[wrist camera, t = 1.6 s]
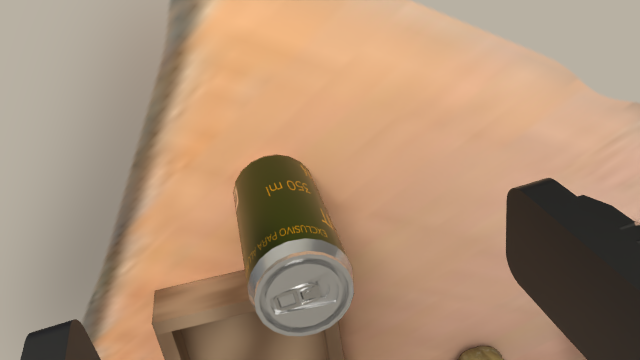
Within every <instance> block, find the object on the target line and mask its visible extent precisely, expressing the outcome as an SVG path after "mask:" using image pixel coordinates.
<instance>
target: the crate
mask: <svg viewBox="0 0 640 360" xmlns="http://www.w3.org/2000/svg"><path fill="white" fill-rule="evenodd" d="M152 325H153V328H154V331H155V334H156V336H157V339H158V342H159V345H160V348H161V350H162V353H163V356H164V359H165V360H344V356H343V350H342V343H341V337H340V331H339V324H338V321H337V322H336V323H335V324H333V325H332V326H331V327H329V328H327V329H325V330H323V331H321V332H319V333H316V334H311V335H306V336H286V335H283V334H280V333H277V332H274V331H273V330H271V329H270V328H269V327H267V326H266V325H265V324H263V323H262V321H261V319H260V318H259V316H258V314H257V313H256V310H255V309H254V307H253V305H252V304H251V302H250V300H249V294H248V287H247V281H246V274H245V270H242V271H238V272H234V273H229V274H225V275H221V276H216V277H212V278H208V279H204V280H199V281H195V282H191V283H186V284H182V285H178V286H174V287H169V288H165V289H161V290H156V291H155V295H154V306H153V317H152Z"/></svg>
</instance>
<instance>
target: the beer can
mask: <svg viewBox="0 0 640 360" xmlns="http://www.w3.org/2000/svg"><path fill="white" fill-rule="evenodd" d="M233 194H234V201H235V207H236V214H237V221H238V227H239V234H240V241H241V247H242V254H243V261H244V267H245V274H246V281H247V287H248V294H249V300H250V302H251V304H252V305H253V307H254V309H255V310H256V313H257V314H258V316H259V318H260V319H261V321H262V323H263V324H265V325H266V326H267V327H269V328H270V329H271V330H273V331H274V332H277V333H280V334H283V335H286V336H306V335H311V334H316V333H319V332H321V331H323V330H325V329H327V328H329V327H331V326H332V325H333V324H335V323H336V322H337V321H338V320H340V319H341V318H342V317H343V315H344V314H345V312H346V311H347V310H348V308H349V307H350V304H351V301H352V298H353V294H354V290H353V272H352V266H351V264H350V262H349V260H348V257H347V255H346V253H345V251H344V248H343V246H342V244H341V242H340V239H339V237H338V235H337V233H336V230H335V228H334V226H333V224H332V221H331V219H330V217H329V215H328V212H327V210H326V208H325V206H324V203H323V201H322V199H321V197H320V194H319V192H318V190H317V187H316V185H315V183H314V181H313V179H312V176H311V174H310V172H309V170H308V169H307V168H306V167H305V166H304V165H303V164H302V163H301V162H299V161H297V160H295V159H293V158H291V157H288V156H281V155H270V156H263V157H261V158H259V159H257V160H255V161H253V162H251V163H250V164H249V165H248V166H247V167H246V168H245V169H243V170H242V172H241V173H240V175H239V177H238V178H237V180H236V182H235V187H234V192H233Z"/></svg>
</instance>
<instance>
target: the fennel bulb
mask: <svg viewBox="0 0 640 360" xmlns="http://www.w3.org/2000/svg"><path fill="white" fill-rule="evenodd" d="M458 360H504V359H503V358H502V355H501V354H500V352H499V351H497V350H496V349H495V348H492V347H489V346H478V347H476V348H472V349H469V350H467V351H465V352H464V353H462V354H461V356H460V357H459V359H458Z"/></svg>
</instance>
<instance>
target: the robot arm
mask: <svg viewBox="0 0 640 360" xmlns="http://www.w3.org/2000/svg"><path fill="white" fill-rule="evenodd" d="M506 257H507V262H508V265H509V268H510V270H511V273H512V275H513V276H514V278H515V280H516V281H517V283H518V284H519V285H520V286H521V287H522V288H523V289H524V290H525V292H526V293H527V294H528V295H529V296H530V297H531V298H532V299H533V300H534V301H535V303H536V304H537V305H538V306H539V307H540V308H541V309H542V310H543V311H544V313H545V314H546V315H547V316H548V317H549V318H550V319H551V320H552V321H553V322H554V324H555V325H556V326H557V327H558V328H559V329H560V330H561V331H562V332H563V333H564V335H565V336H566V337H567V338H568V339H569V340H570V341H571V342H572V343H573V344H574V346H575V347H576V348H577V349H578V350H579V351H580V352H581V353H582V354H583V355H584V357H585V358H586V359H587V360H640V223H638V222H634V221H633V220H631V219H630V218H629V217H627V216H626V215H624V214H623V213H622V212H620V211H619V210H617V209H616V208H615V207H613V206H611V205H609V204H606V203H603V202H601V201H598V200H595V199H593V198H590V197H587V196H585V195H581V196H578V197H577V196H576V195H574V194H573V193H572V192H570V191H569V190H568V189H566V188H565V187H564V186H562V185H561V184H560V183H558V182H557V181H555V180H554V179H551V178H545V179H542V180H539V181H536V182H532V183H529V184H526V185H522V186H519V187H516V188H512V189H511V190H510V191H509V192H508V195H507V214H506ZM21 360H101V359H100V357H99V355H98V354H97V352H96V350H95V348H94V346H93V344H92V342H91V340H90V338H89V336H88V334H87V332H86V331H85V329H84V327H83V325H82V324H81V323H80V322H79V321H78V320H71V321H68V322H65V323H61V324H58V325H55V326H52V327H48V328H45V329H41V330H38V331H35V332H32V333H29V334H28V336H27V338H26V340H25V344H24V348H23V352H22V356H21Z"/></svg>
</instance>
